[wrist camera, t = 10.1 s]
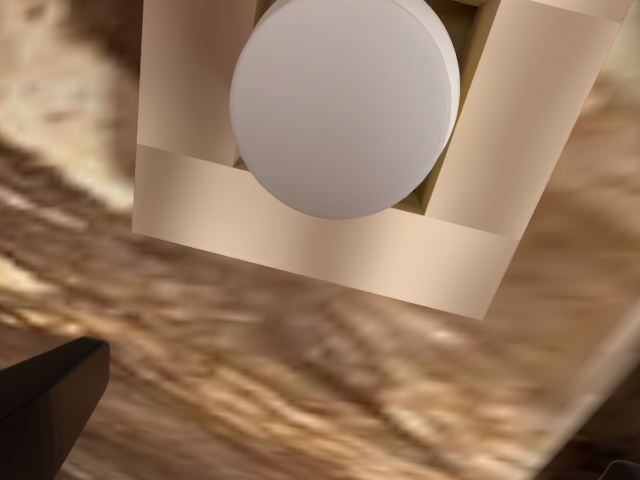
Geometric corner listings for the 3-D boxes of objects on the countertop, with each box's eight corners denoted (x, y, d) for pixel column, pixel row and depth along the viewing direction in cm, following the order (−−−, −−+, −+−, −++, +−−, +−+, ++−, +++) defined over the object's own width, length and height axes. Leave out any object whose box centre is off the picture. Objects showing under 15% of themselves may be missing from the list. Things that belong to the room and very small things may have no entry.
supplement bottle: (392, -22, 15) (436, -150, 6) (443, 121, 16) (537, 188, 8) (260, 51, 16) (133, 35, 7) (320, 176, 18) (277, 288, 9)
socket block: (165, 207, 19) (132, 231, 16) (200, -196, 13) (157, -264, 11) (465, 283, 19) (482, 320, 16) (624, -89, 13) (692, -128, 11)
